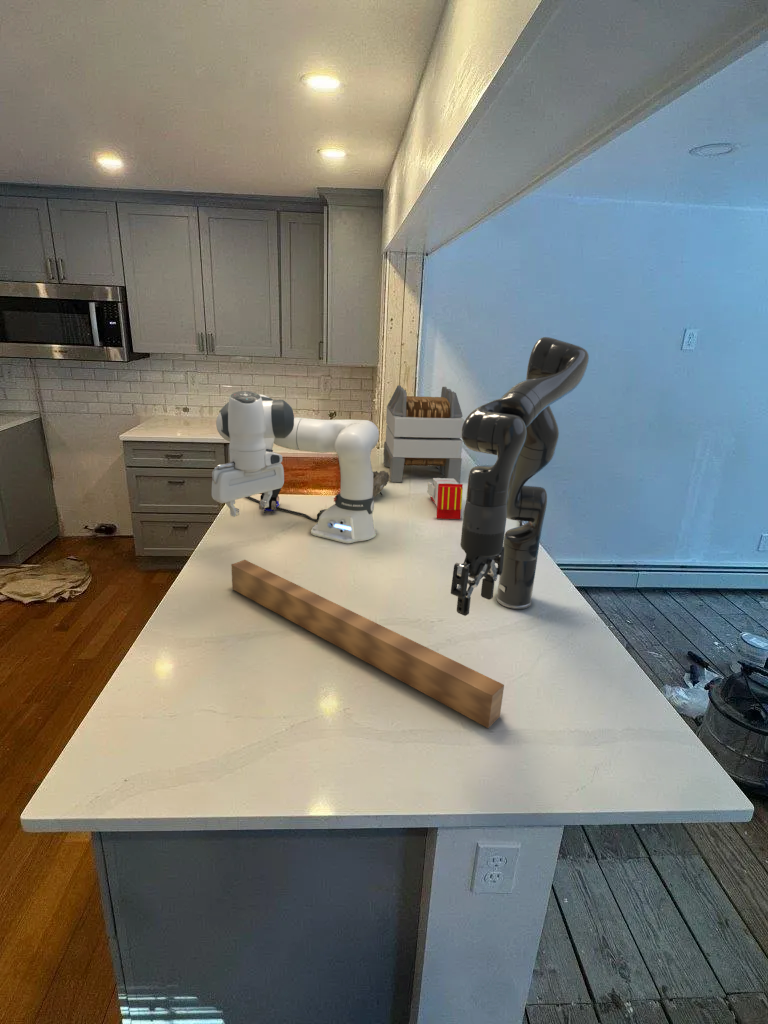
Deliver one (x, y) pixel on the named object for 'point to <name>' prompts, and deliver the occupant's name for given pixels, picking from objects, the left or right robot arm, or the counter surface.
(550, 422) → the right robot arm
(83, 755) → the counter surface
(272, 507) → the figurine character
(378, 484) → the fossil
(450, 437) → the transformer
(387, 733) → the counter surface
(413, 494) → the counter surface
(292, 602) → the post
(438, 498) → the toy
